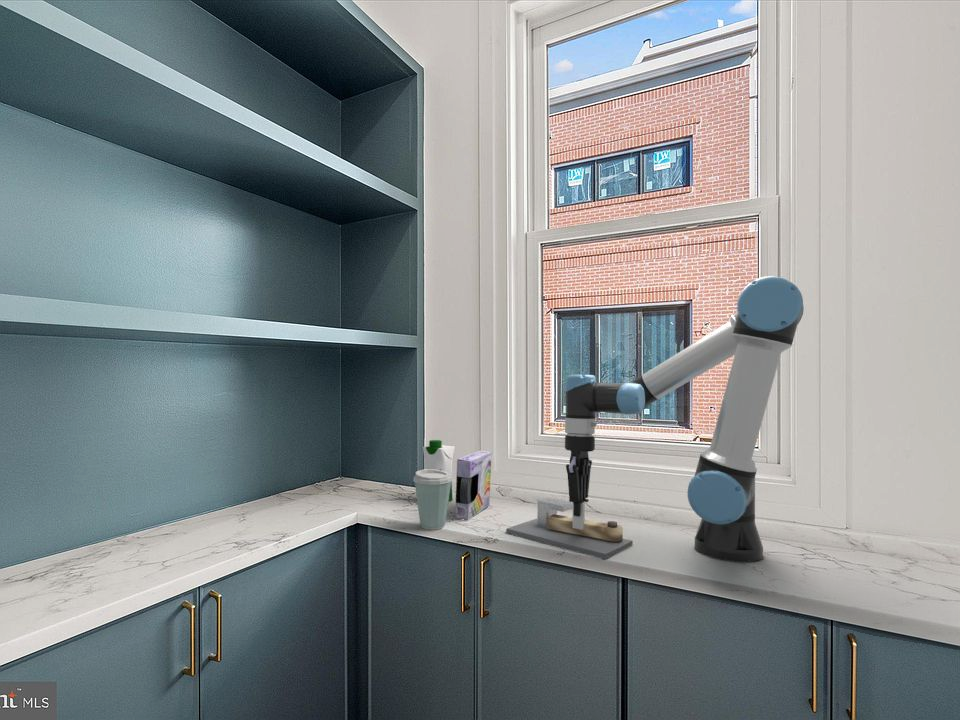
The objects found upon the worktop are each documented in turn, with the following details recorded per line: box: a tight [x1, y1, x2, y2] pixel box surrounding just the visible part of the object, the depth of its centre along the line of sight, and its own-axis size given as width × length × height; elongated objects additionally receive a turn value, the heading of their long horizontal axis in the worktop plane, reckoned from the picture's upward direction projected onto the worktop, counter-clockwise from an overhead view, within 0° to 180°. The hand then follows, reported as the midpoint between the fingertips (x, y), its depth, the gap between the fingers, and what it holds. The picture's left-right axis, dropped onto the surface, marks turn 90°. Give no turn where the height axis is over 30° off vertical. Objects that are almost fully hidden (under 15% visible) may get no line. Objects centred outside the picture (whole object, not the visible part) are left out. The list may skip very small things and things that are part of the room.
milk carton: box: [422, 439, 456, 503], centre depth 176 cm, size 9×9×20 cm
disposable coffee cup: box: [412, 469, 453, 531], centre depth 146 cm, size 11×11×15 cm
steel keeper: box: [536, 497, 573, 527], centre depth 145 cm, size 8×5×8 cm, turn 49°
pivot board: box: [505, 518, 634, 560], centre depth 137 cm, size 29×14×1 cm, turn 49°
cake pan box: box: [454, 450, 493, 521], centre depth 162 cm, size 19×5×18 cm, turn 159°
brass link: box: [547, 514, 624, 542], centre depth 138 cm, size 20×5×4 cm, turn 57°
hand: (578, 528), depth 136 cm, fingers closed
